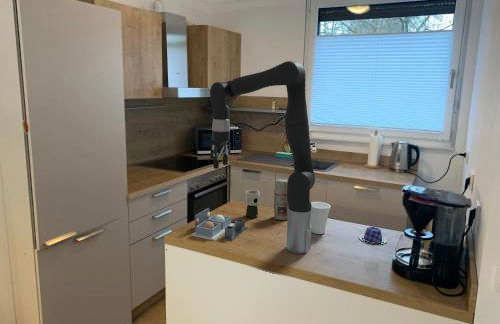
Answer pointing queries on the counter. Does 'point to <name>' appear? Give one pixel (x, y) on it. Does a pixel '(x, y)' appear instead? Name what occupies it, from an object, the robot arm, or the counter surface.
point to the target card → (201, 217)
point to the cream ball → (219, 218)
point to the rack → (216, 231)
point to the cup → (319, 216)
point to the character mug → (252, 202)
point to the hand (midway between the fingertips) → (220, 166)
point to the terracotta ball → (208, 225)
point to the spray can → (280, 200)
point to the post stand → (234, 230)
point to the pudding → (373, 235)
